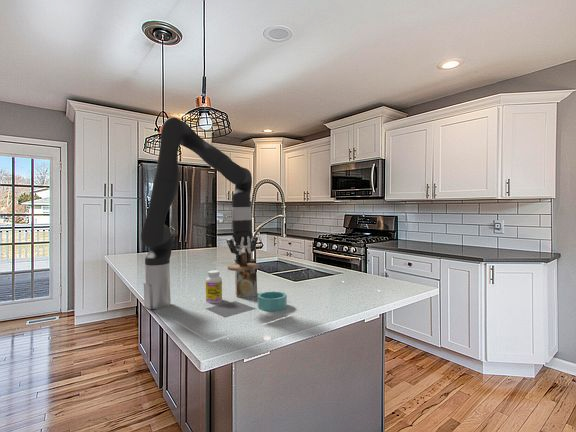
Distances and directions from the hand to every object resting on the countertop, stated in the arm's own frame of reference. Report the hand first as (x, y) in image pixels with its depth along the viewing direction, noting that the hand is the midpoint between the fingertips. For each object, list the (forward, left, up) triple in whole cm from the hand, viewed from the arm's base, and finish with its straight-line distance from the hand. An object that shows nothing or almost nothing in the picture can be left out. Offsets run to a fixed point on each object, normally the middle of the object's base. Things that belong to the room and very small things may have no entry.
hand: (243, 263), depth 126 cm
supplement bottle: (-3, +17, -18) cm, 25 cm away
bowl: (+9, -6, -18) cm, 21 cm away
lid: (0, 0, -2) cm, 2 cm away
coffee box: (+12, +15, -18) cm, 27 cm away
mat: (-4, +3, -18) cm, 19 cm away
